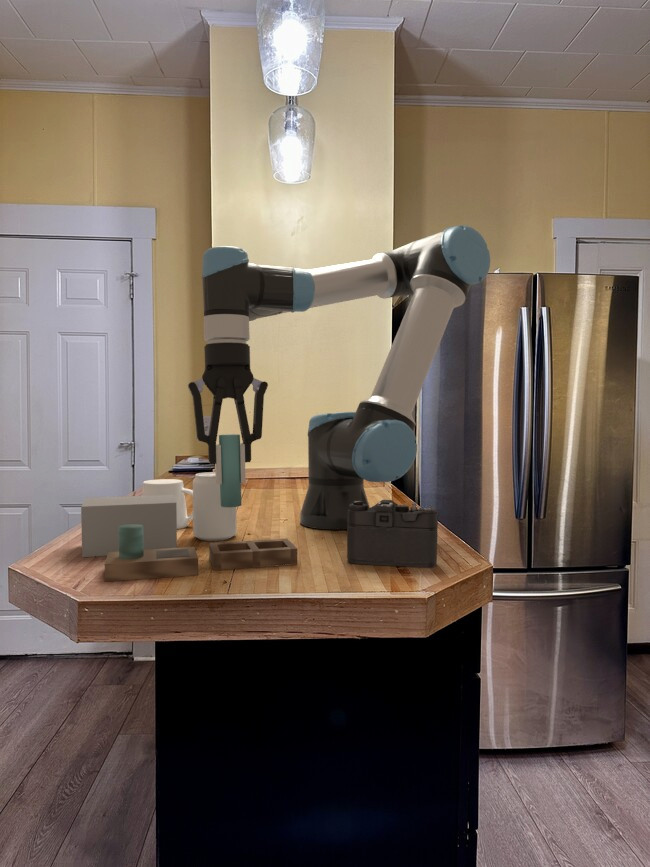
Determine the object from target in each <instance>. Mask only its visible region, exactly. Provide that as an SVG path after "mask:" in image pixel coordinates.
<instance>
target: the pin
mask: <svg viewBox="0 0 650 867" xmlns="http://www.w3.org/2000/svg"><path fill="white" fill-rule="evenodd" d="M240 443H241V435H240V434H237V433H235V434H234V433H233V434H229V433H228V434H218V444H219V445H221V470H222V484H220V500H221V507H236V508H237V507H241V506H242V483H241V477H240Z"/></svg>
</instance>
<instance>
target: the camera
mask: <svg viewBox="0 0 650 867" xmlns="http://www.w3.org/2000/svg"><path fill="white" fill-rule="evenodd" d="M417 504H418V503H417V502H412V503H411V505H412V506H410V505H406V504H402V505H401V504H400V505H399V504H398V503H397V502H395V501H394V500H392V499H382V500H380V501H378V502H377V503H376V504H373V505H372V506H370V508H368V505H366V504H363V501H353V504H350V505H349V509H348V516H347V523H348V525H347V529H346V531H347V533H346V560H347V563H349V564H356V565H357V564H358V565H371V566H372V565H373V566H386V567H388V566H389V567H406V568H407V567H409V568H419V569H420V568H422V569H423V568H424V569H425V568H426V569H430V568H431V569H432V568H436V567H437V564H438V563H437V562H438V561H437V559H438V527H439V524H438V523H439V521H438V520H439V516H438V515H439V513H438V512H437V509H436V508H434V507H423V506H422V507H418V506H417Z"/></svg>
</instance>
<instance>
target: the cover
mask: <svg viewBox="0 0 650 867" xmlns="http://www.w3.org/2000/svg"><path fill="white" fill-rule="evenodd" d="M80 509H81V510H80V514H81V516H80V517H81V522H80V523H81V557H82V558H92V557H93V558H94V557H95V556H96V557H107V555H108V552H116V551H119V526H122V525H128V524H140V525H143V547H144V550H150V549H167V548H178V533H177V532H178V531H177V530H178V529H177V509H176V499H175V495H151V496H142V495H132V496H131V495H129V496H105V497H104V496H102V497H101V496H100V497H86V498H85V500H84V502H83V503H82V504H81V506H80Z"/></svg>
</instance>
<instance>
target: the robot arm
mask: <svg viewBox="0 0 650 867" xmlns="http://www.w3.org/2000/svg"><path fill="white" fill-rule="evenodd" d="M488 248H489V247H488V244H487V242H486V240H485V238H484V237H483V235H481V233H480V232H479V231H478V230H476V229H475V228H474V227H472V226H468V225H465V224H463V225H457V226H450V227H447V228H445V229H444V230H442V231H439V232H436V233H434V234H430V235H428V236H426V237H421V238H419V239H417V240H414V241H411V242H409V243H408V244H405V245H403V246H400V247H398V248H395V249H393V250H390V251H386V252H381V253H376V254H375V255H373V257H372V259H367V260H361V261H354V262H348V263H342V264H335V265H330V266H324V267H318V268H311V269H303V268H297V267H294V266H291V267H288V266H275V265H266V264H258V263H257V264H256V263H252V262H251V263H250V260H249V255H248V252H247V251H246V250H245V249H243V248H241V247H237V246H230V245H228V246H227V245H221V246H214V247H210V248H208V249H206V250H205V251H204V253H203V256H202V267H201V268H202V272H201V280H202V297H203V298H202V300H203V303H202V304H203V340H204V341H205V342H207V344H205V346H204V371H203V374H202V377H201V378H200V379H198V380H195V381H191V382H189V383H188V384H187V388H188V390H189V392H190V394H191V396H192V401H193V402H192V403H193V404H192V405H193V412H194V413H193V414H194V423H195V431H196V439H197V440H198V441H200V442H202V443H204V444H207V449H208V451H207V452H208V453H207V456H208V462H209V464H210V465H214V469H215V470H214V472H215V476H216V483H217V484H222V470H221V445H219V443H217V440H218V435H219V434H218V433H219V427H220V426H219V424H220V419H221V411H222V406H223V405H222V404H223V402H224V401H223V400H224V399H232V400H234V404H235V408H236V415H237V419H238V424H239V430H240V434H241V435H240V437H241V440H242V442H240V477H241V484H244V483H245V484H246V483H247V481H246V479H247V478H246V463H251V461H252V443H253V442H255V441H258V440H260V439H262V436H263V420H264V401H265V399H264V398H265V394H266V392H267V389H268V386H269V384H268V382H267V381H263V380H259V379H257V378H255V377H254V374H253V372H252V370H251V349H250V348H251V346H249V344H248V343H247V342H249V340H251V339H250V322H251V321H252V322H253V321H255V320H257V319H262V318H266V317H272V316H277V315H282V314H286V313H295V312H297V313H299V312H301V313H305V312H306V311H309V309H313V308H317V307H323V306H324V307H325V306H328V305H333V304H339V303H343V302H349V301H354V300H360V299H364V298H365V299H366V298H369V297H375V296H377V297H379V298H380V299H384V300H385V299H390V298H395V297H396V298H397V297H410V296H411V298H410V301H409V304H408V305H407V308H406V311H405V313H404V315H403V318H402V320H401V322H400V326H399V327H398V330H397V332H396V335H395V336H394V340H393V342H392V343H391V347H390V349H389V351H388V353H387V356H386V358H385V361H384V363H383V366H382V369H381V371H380V373H379V376H378V378H377V380H376V383H375V385H374V388H373V391H372V393H371V395H370V397H369V398H366V399H363V400H360V402H359V404H358V405H357V408H356V410H355V411H339V412H331V413H329V412H328V413H326V412H325V413H321V414H316V415H313V416H312V417H311V418H310V419H309V421H308V430H307V438H308V439H307V441H308V442H307V446H308V449H307V450H308V451H307V453H308V454H307V456H308V458H307V459H308V463H307V464H308V471H307V472H308V488H307V491H306V494H305V496H304V500H303V503H302V507H301V509H300V514H299V515H300V516H299V517H300V518H299V522H300V523H299V524H300V525H302V526H305V527H306V528H307V527H308V528H312V529H319V530H320V529H321V530H347V525H348V523H347V516H348V509H349V505H350V504H353V501H363V504H366V505H368V508H370V507H371V506H370V503H369V501H368V496H367V494H366V490H365V485H364V480H365V481H367V482H370V483H389V482H393V481H396V480H398V479H400V478H402V477H403V476H404V475H405V474H407V472H409V470H410V469H411V468H412V466H413V465H414V462H415V459H416V456H417V453H418V452H417V451H418V444H417V443H416V440H417V438H416V435H415V432H414V430H415V427H416V421H415V420H414V417H413V411H414V408H415V406H416V404H417V402H418V398H419V396H420V393H421V392H422V388H423V386H424V383H425V381H426V379H427V376H428V374H429V371H430V368H431V366H432V364H433V361H434V358H435V356H436V353H437V351H438V349H439V346H440V344H441V341H442V338H443V336H444V333H445V331H446V328H447V326H448V323H449V320H450V318H451V316H452V314H453V311H454V309H455V308H458V307H461V306H462V305H463V304H465V302H466V299H467V296H468V293H469V291H470V289H471V287H472V286H473V285H476V284H480V282H482V281H484V279H486V277H487V276H488V273H489V270H490V267H491V253H490V250H489V249H488ZM204 385H205V386H206V388H207V389H208V390H209V391H210V393H211V394H212V396H213V400H212V409H211V415H210V423H209V428H208V435H207V434H206V430H205V429H206V428H205V422H204V412H203V411H204V410H203V402H202V394H201V393H203V391H204V388H203V386H204ZM251 385H252V391H253V392H254V399H253V401H254V402H253V415H252V416H253V420H252V432H251V430H250V425H249V422H248V415H247V410H246V403H245V398H244V395H245V393H246V391H247V390H248V389H249V388H250V386H251Z"/></svg>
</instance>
